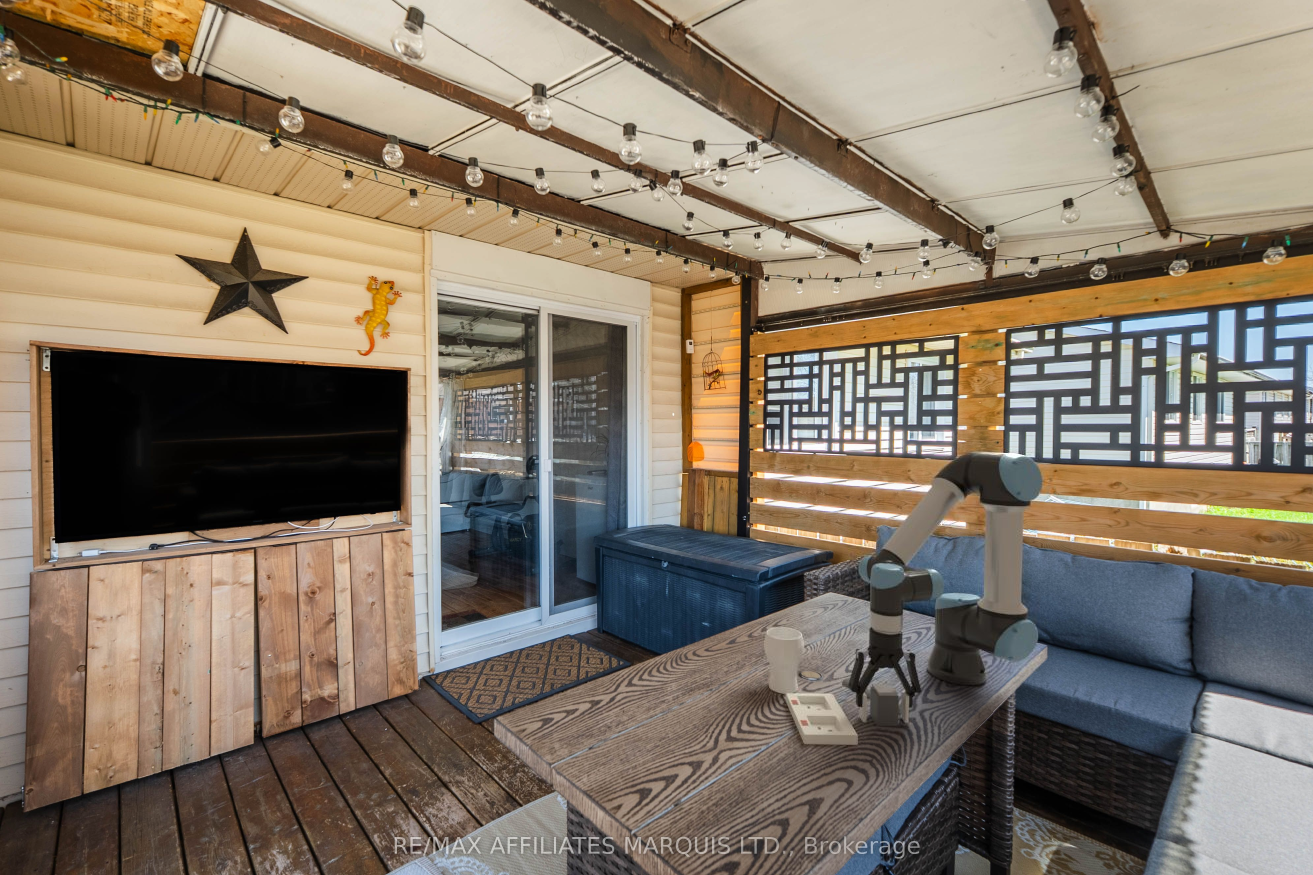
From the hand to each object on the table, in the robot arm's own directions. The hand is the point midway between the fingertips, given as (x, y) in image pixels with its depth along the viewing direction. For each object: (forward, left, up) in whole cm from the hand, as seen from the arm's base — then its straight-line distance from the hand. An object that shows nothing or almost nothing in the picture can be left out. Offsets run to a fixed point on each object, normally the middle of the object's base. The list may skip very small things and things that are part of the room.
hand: (883, 719), depth 143 cm
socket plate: (+16, +1, 0) cm, 16 cm away
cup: (+21, -17, 0) cm, 27 cm away
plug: (0, 0, 0) cm, 0 cm away
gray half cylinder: (-2, -12, -1) cm, 12 cm away
